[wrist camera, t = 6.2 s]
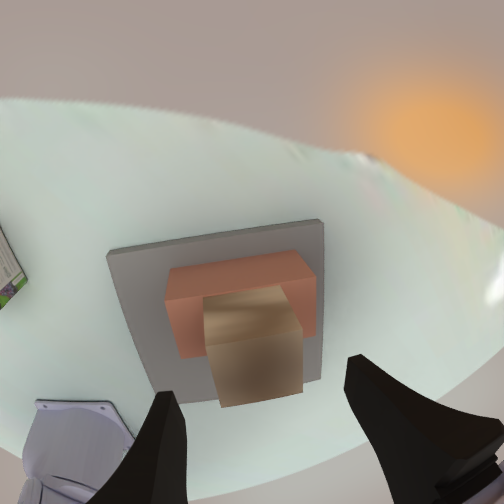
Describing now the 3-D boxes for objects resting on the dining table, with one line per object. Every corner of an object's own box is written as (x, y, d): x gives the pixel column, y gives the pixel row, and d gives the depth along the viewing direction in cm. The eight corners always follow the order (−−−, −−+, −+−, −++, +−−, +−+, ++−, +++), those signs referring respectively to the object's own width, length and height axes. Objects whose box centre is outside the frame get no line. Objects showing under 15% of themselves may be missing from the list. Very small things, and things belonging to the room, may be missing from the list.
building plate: (161, 397, 24) (160, 405, 23) (109, 250, 19) (105, 256, 18) (317, 371, 26) (320, 379, 25) (318, 218, 20) (323, 223, 19)
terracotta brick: (182, 321, 20) (181, 359, 17) (170, 268, 19) (164, 300, 15) (297, 302, 21) (316, 335, 18) (294, 249, 20) (316, 276, 16)
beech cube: (215, 356, 17) (221, 407, 13) (202, 297, 15) (205, 346, 12) (283, 344, 17) (302, 392, 14) (279, 284, 16) (302, 329, 12)
